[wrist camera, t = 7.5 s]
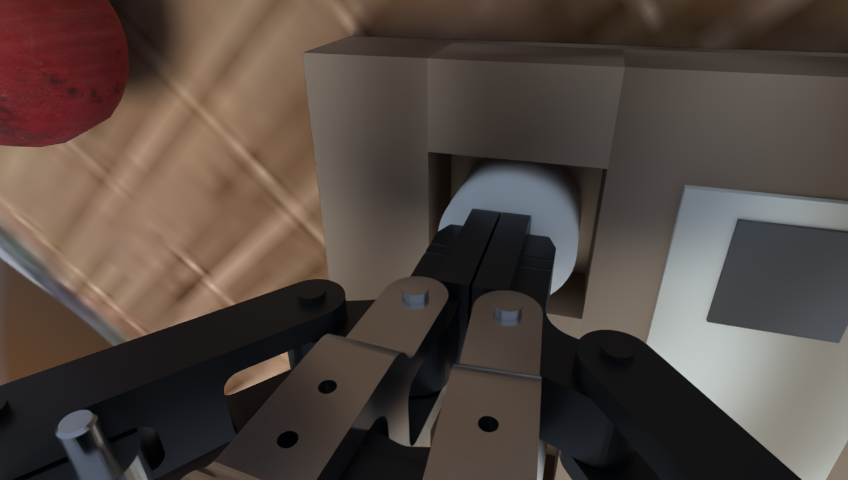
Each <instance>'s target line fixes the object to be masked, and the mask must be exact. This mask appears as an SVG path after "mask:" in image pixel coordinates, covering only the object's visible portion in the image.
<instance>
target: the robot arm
mask: <svg viewBox="0 0 848 480" xmlns="http://www.w3.org/2000/svg"><path fill="white" fill-rule="evenodd" d="M530 229H531V215H523V214H515V213H507V212H502V214H501V212H498V211H490V210H482V209H472V210H471V212H470V214H469V216H468V218H467V220H466V221H465V223H464V225H463V226H461V225H454V224H450V225H448V226H446V227H445V228H443V229H441V230H440V231H438V232H437V233H436V235H435V236H434V238H433V240H432V241H431V245H429V246H428V248H427V250H426V252H425V253H424V254H423V256H422V258H421V259H420V261H419V263H418V264H417V266H416V268H415V269H414V271H413V273H412V274H411V276H410V277H405V278H401V279H398V280H396V281H394V282H392V283H390V284H389V285H388V286H387V287H386V288H385V289H384V290H383V292H382V293H381V294H380V295H379V297H378V298H377V299H374V300H355V301H346V296H345V291H344V289H343V287H342V286H341V285H339V284H338V283H336V282H333V281H330V280H324V279H313V280H306V281H302V282H299V283H296V284H293V285H290V286H287V287H284V288H281V289H279V290H276V291H273V292H270V293H267V294H264V295H261V296H258V297H255V298H253V299H250V300H247V301H244V302H241V303H238V304H235V305H232V306H229V307H227V308H224V309H221V310H218V311H215V312H212V313H209V314H206V315H203V316H201V317H198V318H195V319H192V320H189V321H186V322H183V323H180V324H177V325H174V326H172V327H169V328H166V329H163V330H160V331H157V332H154V333H151V334H148V335H146V336H143V337H140V338H137V339H134V340H131V341H128V342H125V343H122V344H120V345H117V346H114V347H111V348H108V349H105V350H102V351H100V352H96V353H94V354H91V355H88V356H85V357H82V358H79V359H76V360H73V361H70V362H68V363H65V364H62V365H59V366H56V367H53V368H50V369H47V370H44V371H41V372H39V373H36V374H33V375H30V376H27V377H24V378H21V379H18V380H16V381H13V382H10V383H7V384H4V385H1V386H0V480H537V468H538V447H539V439H540V440H542V441H544V442H546V443H548V444H550V445H551V446H553V447H555V448H557V449H559V458H560V461H561V464H562V466H563V467H564V469H565V470H566V472H567V473H568V475H569V476H570V478H571V479H572V480H802V479H801V478H800V477H798V476H797V475H796V474H795V473H794V472H793V471H792V470H790V469H789V468H788V467H787V466H786V465H785V464H784V463H782V462H781V461H780V460H779V459H778V458H777V457H775V456H774V455H773V454H772V453H771V452H770V451H769V450H767V449H766V448H765V447H764V446H763V445H762V444H761V443H759V442H758V441H757V440H756V439H755V438H754V437H753V436H751V435H750V434H749V433H748V432H747V431H746V430H745V429H743V428H742V427H741V426H740V425H739V424H738V423H737V422H735V421H734V420H733V419H732V418H731V417H730V416H729V415H727V414H726V413H725V412H724V411H723V410H722V409H721V408H719V407H718V406H717V405H716V404H715V403H714V402H713V401H711V400H710V399H709V398H708V397H707V396H706V395H705V394H703V393H702V392H701V391H700V390H699V389H698V388H697V387H695V386H694V385H693V384H692V383H691V382H690V381H689V380H687V379H686V378H685V377H684V376H683V375H682V374H681V373H679V372H678V371H677V370H676V369H675V368H674V367H673V366H671V365H670V364H669V363H668V362H667V361H666V360H664V359H663V358H662V357H661V356H660V355H659V354H658V353H656V352H655V351H654V350H653V349H652V348H651V347H650V346H648V345H647V344H646V343H645V342H643V341H642V340H640V339H639V338H637V337H635V336H632V335H630V334H627V333H624V332H620V331H616V330H596V331H592V332H589V333H587V334H585V335H583V336H582V337H581V338H580V339H577V338H574V337H572V336H570V335H568V334H565V333H564V332H562V331H560V330H559V329H558V328H556V327H555V326H554V325H553V324H552V323H551V322H550V320H549V319H548V317H547V311H548V305H549V299H550V292H551V284H552V276H553V268H554V261H555V253H556V247H555V246H554V244H553V242H552V241H551V239H550V237H546V236H538V235H530ZM287 351H288V357H289V362H290V368H291V370H288V371H286V372H284V373H281V374H279V375H277V376H274V377H272V378H270V379H267V380H265V381H263V382H260V383H258V384H256V385H253V386H251V387H249V388H246V389H244V390H242V391H239V392H237V393H235V394H232V395H224V386H225V384H226V382H227V381H228V379H229V378H230V377H231V376H232V375H234V374H235V373H237V372H239V371H241V370H243V369H246V368H248V367H251V366H253V365H256V364H258V363H260V362H263V361H265V360H268V359H270V358H273V357H275V356H278V355H280V354H282V353H285V352H287ZM447 383H448V384H447ZM440 409H441V411H440ZM439 411H440V415H439V419H438V423H437V426H436V430H435V434H434V438H433V442H432V445H431V447H423V445H424V443H425V441H426V438H427V436H428V434H429V432H430V430H431V428H432V426H433V424H434V422H435V420H436V417H437V415H438V413H439Z"/></svg>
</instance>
